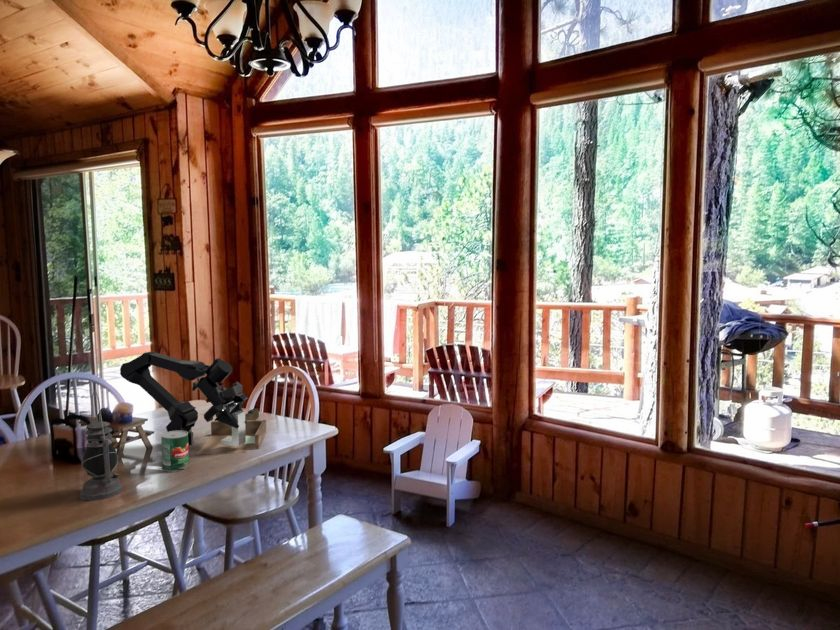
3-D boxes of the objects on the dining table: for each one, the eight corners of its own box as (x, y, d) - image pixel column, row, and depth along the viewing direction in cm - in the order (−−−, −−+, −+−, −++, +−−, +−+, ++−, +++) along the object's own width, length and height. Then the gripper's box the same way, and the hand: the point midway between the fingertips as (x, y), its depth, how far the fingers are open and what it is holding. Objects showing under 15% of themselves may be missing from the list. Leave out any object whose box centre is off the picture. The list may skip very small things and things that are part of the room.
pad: (225, 444, 201) (225, 443, 201) (230, 437, 209) (230, 436, 209) (254, 443, 202) (254, 443, 202) (258, 436, 210) (258, 436, 210)
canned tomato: (169, 462, 186) (168, 429, 184) (193, 462, 186) (192, 430, 184) (157, 471, 178) (156, 437, 177) (182, 472, 178) (181, 438, 176)
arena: (196, 456, 191) (196, 439, 190) (212, 436, 212) (211, 421, 211) (257, 455, 193) (256, 438, 193) (266, 435, 214) (266, 420, 213)
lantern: (129, 493, 162) (125, 390, 159) (88, 504, 154) (83, 396, 151) (113, 481, 170) (108, 382, 167) (73, 491, 162) (67, 389, 159)
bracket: (245, 442, 197) (245, 411, 196) (238, 446, 193) (237, 414, 192) (228, 440, 199) (227, 409, 198) (221, 444, 194) (220, 413, 193)
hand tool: (234, 431, 219) (234, 419, 218) (226, 430, 220) (226, 418, 220) (264, 418, 237) (264, 407, 236) (256, 417, 238) (256, 406, 238)
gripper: (210, 382, 185) (242, 418, 183) (242, 371, 203) (270, 403, 201) (190, 404, 187) (220, 439, 186) (222, 391, 205) (250, 423, 204)
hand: (242, 425), depth 194 cm, fingers closed on bracket, 4 cm apart
